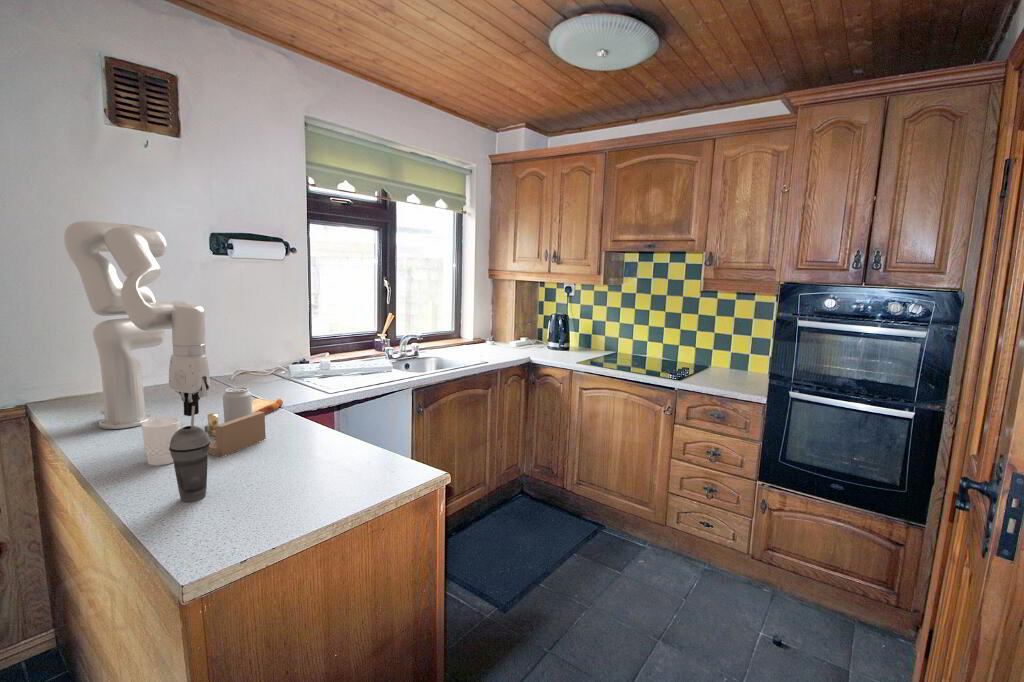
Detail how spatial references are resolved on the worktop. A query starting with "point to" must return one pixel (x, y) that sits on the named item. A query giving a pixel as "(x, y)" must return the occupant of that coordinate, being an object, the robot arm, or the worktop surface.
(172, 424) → the white cup
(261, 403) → the slice of bread
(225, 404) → the can
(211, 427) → the bolt
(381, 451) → the worktop surface
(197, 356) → the robot arm
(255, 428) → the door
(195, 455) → the beverage cup
